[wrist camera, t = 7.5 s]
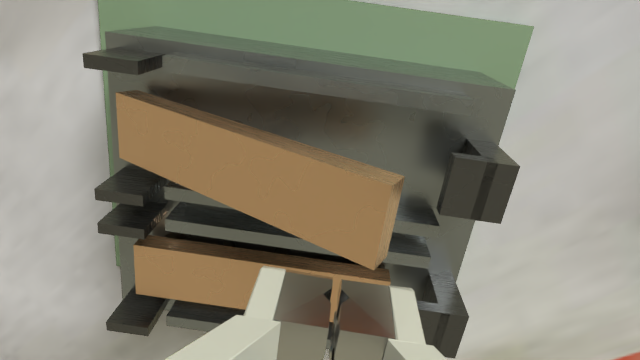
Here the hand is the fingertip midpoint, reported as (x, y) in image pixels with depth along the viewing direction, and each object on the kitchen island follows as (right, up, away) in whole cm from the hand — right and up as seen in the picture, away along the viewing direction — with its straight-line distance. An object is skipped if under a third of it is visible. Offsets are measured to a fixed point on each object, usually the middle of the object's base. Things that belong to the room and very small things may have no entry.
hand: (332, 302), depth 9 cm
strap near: (-3, +3, +7) cm, 8 cm away
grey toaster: (-2, +3, +16) cm, 17 cm away
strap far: (-3, -2, +12) cm, 12 cm away
